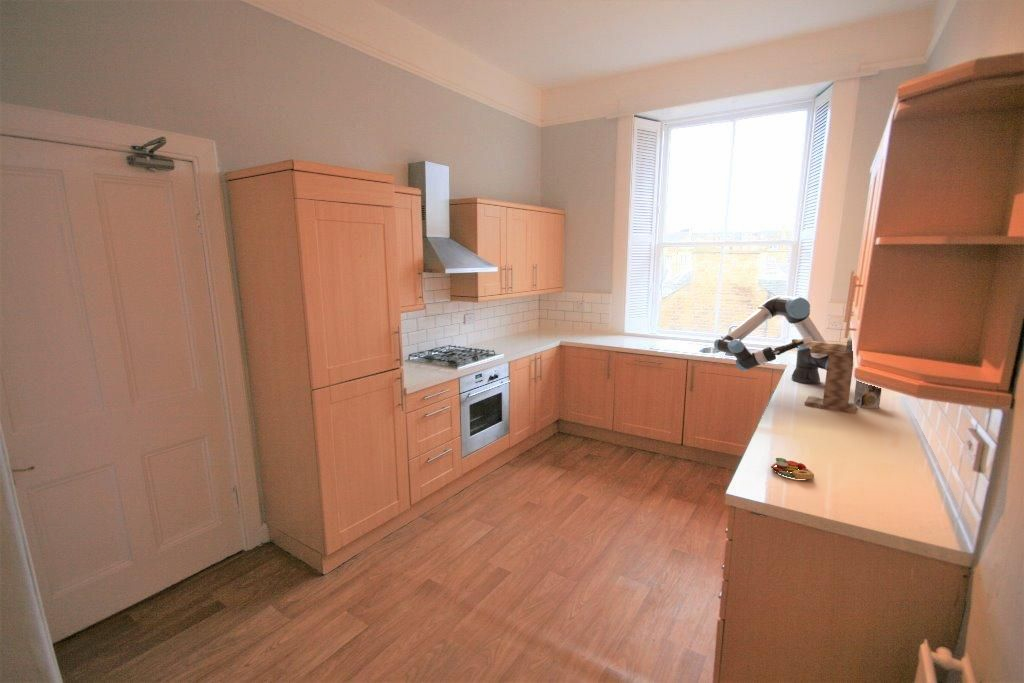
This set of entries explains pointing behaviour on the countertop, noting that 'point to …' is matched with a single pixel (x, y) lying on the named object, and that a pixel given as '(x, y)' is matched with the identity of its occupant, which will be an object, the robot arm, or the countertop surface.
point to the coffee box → (867, 395)
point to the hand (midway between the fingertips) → (811, 338)
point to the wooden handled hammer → (829, 345)
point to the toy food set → (792, 469)
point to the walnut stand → (835, 382)
